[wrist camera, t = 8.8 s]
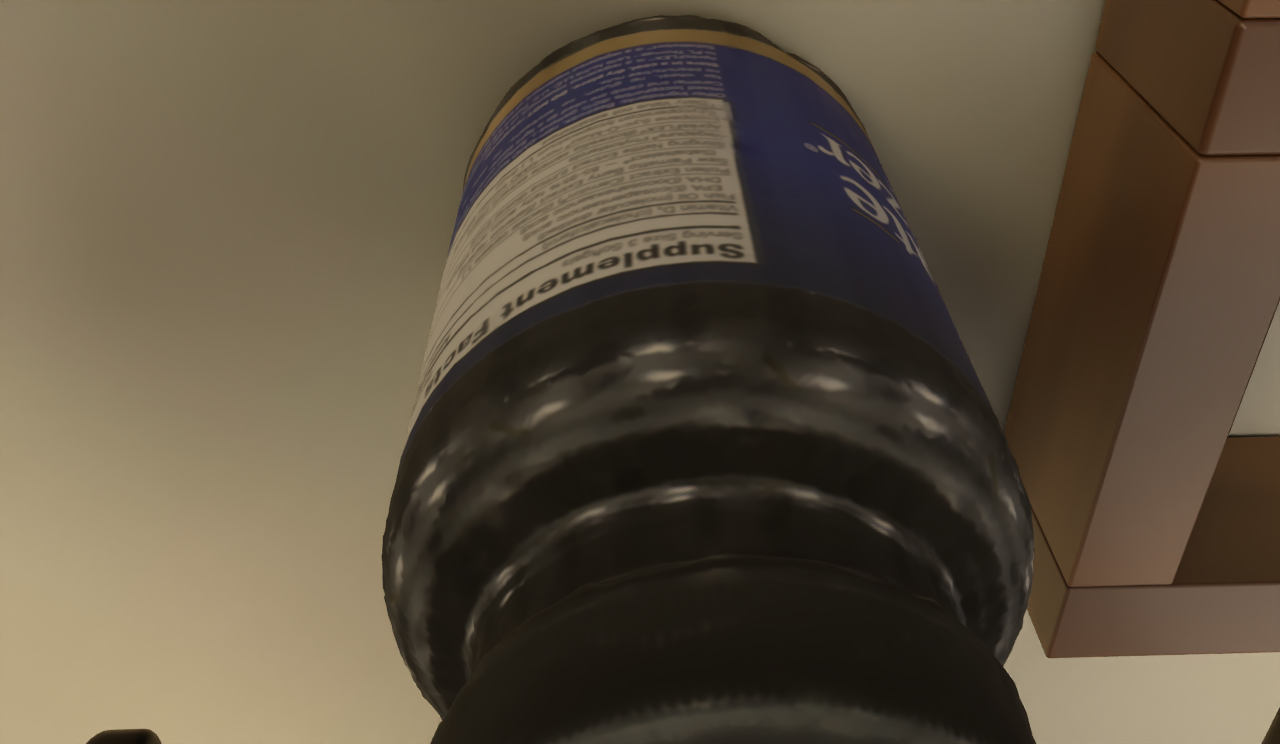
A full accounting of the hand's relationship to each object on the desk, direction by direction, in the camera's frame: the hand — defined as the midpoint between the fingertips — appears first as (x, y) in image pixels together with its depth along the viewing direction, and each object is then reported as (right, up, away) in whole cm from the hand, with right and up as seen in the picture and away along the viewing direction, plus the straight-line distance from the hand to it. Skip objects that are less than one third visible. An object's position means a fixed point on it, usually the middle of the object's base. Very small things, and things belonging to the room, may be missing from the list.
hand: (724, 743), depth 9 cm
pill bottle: (0, +6, +8) cm, 10 cm away
